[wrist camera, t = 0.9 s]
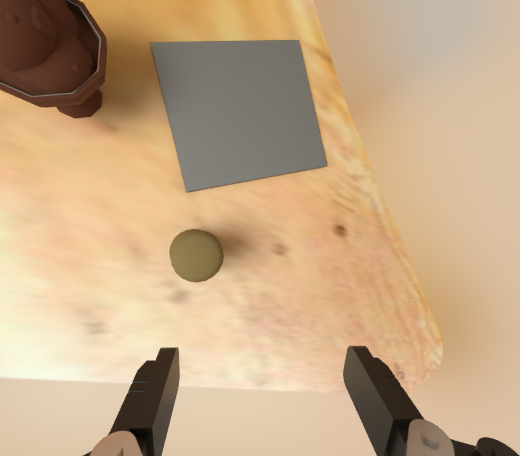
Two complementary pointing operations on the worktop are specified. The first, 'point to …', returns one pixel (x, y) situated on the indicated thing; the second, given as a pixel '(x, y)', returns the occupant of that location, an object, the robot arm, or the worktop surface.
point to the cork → (196, 255)
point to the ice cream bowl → (52, 55)
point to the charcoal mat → (238, 110)
